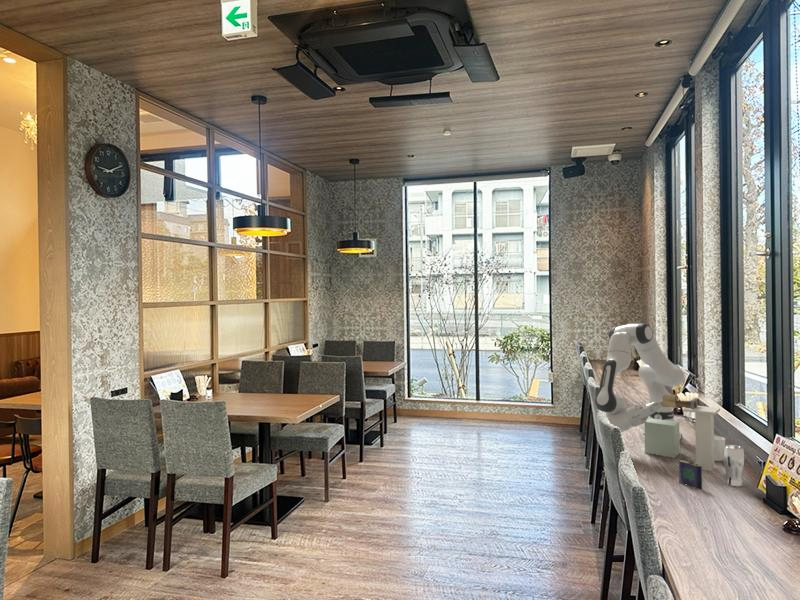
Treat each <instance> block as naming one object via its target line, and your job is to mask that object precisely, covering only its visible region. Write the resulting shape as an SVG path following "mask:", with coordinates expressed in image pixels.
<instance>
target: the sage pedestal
mask: <svg viewBox="0 0 800 600" xmlns="http://www.w3.org/2000/svg"><path fill="white" fill-rule="evenodd" d="M644 431H645V434H644V454H649V455H654V454H656V456H660V455H661V457H666V456H667V457H666V458H673V459H675V458H676V457H677V456H678V455H680V452H681V451H680V439H679V431H680V421H676V420H675V421H667V420H660V419H652V418H650V419H648V420H647V421H646V423H644Z"/></svg>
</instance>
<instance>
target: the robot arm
mask: <svg viewBox="0 0 800 600" xmlns="http://www.w3.org/2000/svg"><path fill="white" fill-rule="evenodd" d="M608 339H609V343H608V347H607V353H606V354H607V357H606V361H605V362H604V365H603V368H602V373H601V378H600V381H599V382H600V383H599V388H598V391H597V393H596V395H595V398H594V403H595V407H596V408H597V409H598V410H599V411H601V412H603V413H605V417H607V418H608V420H609V421H610V423H611V424H613V425H614V426H617V427H619V428H620V430H621V433H623V432H626V431H628V430H630V429H631V428H636V427H639V426H641V425H643V424H645V423H646V421H647V420H648V419H650V418H652V419H660V420H667V421H675V422H676V420H675V413H674V412H675V411H674V410H673V408H674V407H663V398H662V396H663V395H665V394H670V393H669V392H668V390H667V388H666V387H679V386H681V385H682V384H683V383H684V382H685V377H686V376H685V371H684V370H683V369H682V368H680V367H679V366H677V365H675V364H674V363H673V362H672V361H671V360H670V359H669V358H668V357H667V356H666V354H664V353H663V350H662V349H661V347H660V345H659V343H658V341H657V339H656V337H655V335H654V331H653V329H652V327H651V326H650V325H649V324H647V323H643V322H639V323H627V324H622V325H616V326H613V327H612V328H610V330H609V332H608ZM632 346H634V348H635V350H636V352H637V353H638V354H637V355H638V356H639V357H640V360H641V362H642V364H641V365H640V366H639V368H638V371H637V372H638V373H637V374H638V378H639V379H640V380H641V382H643V383H644V385H645V387H646V389H647V392H648V398H649V403H646V404H644V405H643V404H640V405H637V404H635V405H632V406H630V407H629V404H628V401H627V400H626V398H624V397H622V396H620V395H618V394H615V392H614V388H615V382H616V376H617V374H618V373H620V372H624V371H626V370H627V369H628V368H629V367H630V364H631V362H632ZM642 435H645V430H644V431H642ZM681 439H682V432H681V431H680V430H679V440H681Z"/></svg>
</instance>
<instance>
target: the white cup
mask: <svg viewBox="0 0 800 600" xmlns="http://www.w3.org/2000/svg"><path fill="white" fill-rule="evenodd" d="M724 445H726V438H725V437H723V436H719V435H714V462H724V458H723V453H724Z"/></svg>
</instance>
